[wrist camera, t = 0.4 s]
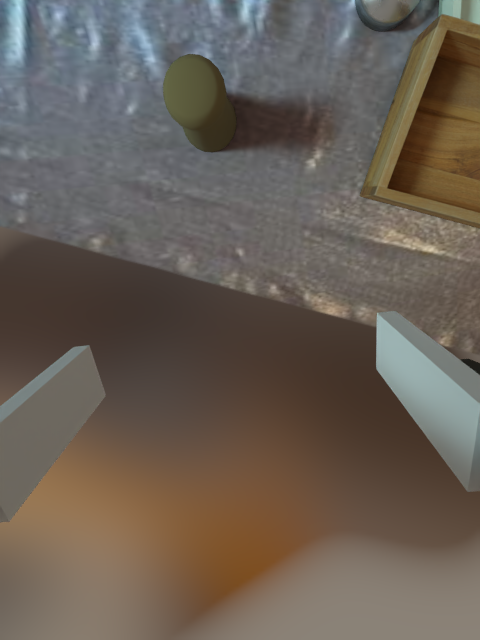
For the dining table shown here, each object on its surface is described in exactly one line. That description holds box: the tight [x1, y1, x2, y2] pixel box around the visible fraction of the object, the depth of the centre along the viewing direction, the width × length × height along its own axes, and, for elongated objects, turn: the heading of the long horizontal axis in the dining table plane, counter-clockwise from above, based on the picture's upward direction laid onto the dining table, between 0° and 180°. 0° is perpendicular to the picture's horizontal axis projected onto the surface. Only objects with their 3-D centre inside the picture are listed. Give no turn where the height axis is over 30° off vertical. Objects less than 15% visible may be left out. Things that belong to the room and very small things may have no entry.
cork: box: [163, 54, 237, 152], centre depth 30 cm, size 6×6×11 cm
